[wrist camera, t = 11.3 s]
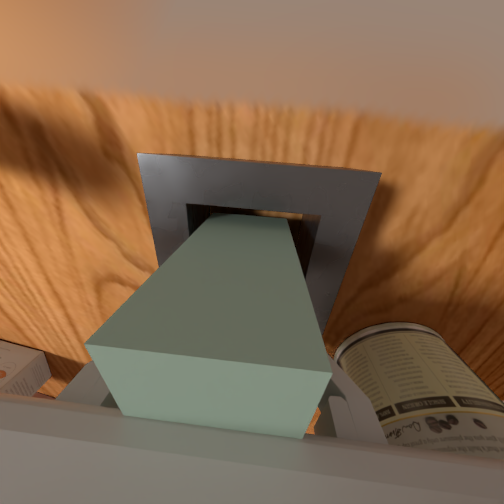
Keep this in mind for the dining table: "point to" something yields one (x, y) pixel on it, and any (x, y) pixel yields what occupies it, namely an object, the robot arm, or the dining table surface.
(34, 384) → the small box
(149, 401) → the sage block
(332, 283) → the keyed collar
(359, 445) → the robot arm
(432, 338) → the coffee can
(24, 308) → the dining table surface
